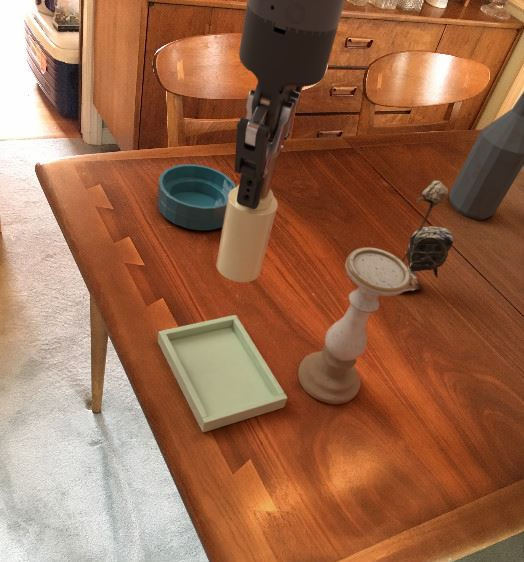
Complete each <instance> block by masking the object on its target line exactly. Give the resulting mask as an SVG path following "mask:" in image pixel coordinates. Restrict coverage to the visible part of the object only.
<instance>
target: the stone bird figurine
mask: <svg viewBox="0 0 524 562" xmlns="http://www.w3.org/2000/svg"><path fill="white" fill-rule="evenodd" d="M448 193H449V188H448V187H447V186H446V185H444V184H443V182H442V181H440V180H438V179H434V180H433V181H431V183H430V184H429V185H428V186H427V187H425V188H424V189H423V191H422V192H421V197H418V199H416V200H415V203H420V202H421V201H423V202H426V203H429V204H430V205H429V207H428V209H427V211H426V213H425V216H424V219H423V220H422V223H421V224H420V227H419V228H418V229H417V230H415V231H414V232H413V234H412V236H410V237H409V241H408V245H407V250H405V253H404V256H403V258H402V259H401V261H402V262H403V263H404V261H405V260H407V262H408V263H407V264H405V263H404V264H405V265H406V266H407V268H408V270H409V272H410V284H409V286H408V288H407V289H406V290H405V291H404V292H408V291H415V290H421V287H420V286H419V282H418V277H417V274H416V272H422V271H432V272H433V274H434V276H435V278H436V279H438V278H439V273H438V272H439V271H438V268H440V267H442V266H443V265H444V263H445V262H446V261H447V259H448V256H449V251H450V250H451V248H452V246H453V244H454V240H456V239H457V237H454V236H453V234H452V232H451V231H450V230H449V229H448V228H447V227H440V226H431V225H430V226H425V224H426V222H427V220H428V217H429V216H430V214H431V212H432V211H433V208H434V206H437V205H439V204H440V203H442V201H444V199H445V198H446V196H447V195H448Z"/></svg>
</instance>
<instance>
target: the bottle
mask: <svg viewBox="0 0 524 562" xmlns="http://www.w3.org/2000/svg"><path fill="white" fill-rule="evenodd" d="M523 167H524V91H522V93H521V95H520V96H519V98H518V99H517V101H516V102H515V103H514V105H513V107H512V108H511V109H510V110H508V111H507V112H505V113H503V114H502V115H500V116H499V117H498V118H496V119H495V120H494V121H492V122H490V123H489V124H487V125H486V126H484V127H483V128H482V129H481V130H480V132H479V134H478V135H477V137H476V139H475V142H474V144H473V146H472V147H471V149H470V151H469V153H468V156H467V157H466V160H465V161H464V163H463V165H462V167H461V169H460V171H459V174H458V175H457V177H456V179H455V181H454V183H453V184H452V186H451V189H450V190H449V192H448V193H449V195H448V196H449V204H450V206H451V207H452V208H453V209H454V210H455V211H457V213H459V214H461V215H462V216H463V217H468V218H470V219H474V220H477V221H485V220H486V219H488V218H490V217H491V216H493V215H495V214H496V212H497V211H498V209H499V207H500V205H501V204H502V202H503V201H504V199H505V197H506V196H507V193H508V192H509V190H510V189H511V187H512V185H513V183H514V182H515V180H516V179H517V177H518V175H519V174H520V172H521V170H522V168H523Z"/></svg>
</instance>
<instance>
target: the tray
mask: <svg viewBox="0 0 524 562" xmlns="http://www.w3.org/2000/svg"><path fill="white" fill-rule="evenodd" d="M157 343H158V345H159V347H160V350H161V351H162V354H163V355H164V357H165V359H166V362H167V364H168V365H169V367H170V370H171V372H172V374H173V375H174V378H175V380H176V382H177V384H178V386H179V387H180V390H181V392H182V394H183V396H184V398H185V400H186V402H187V404H188V406H189V408H190V410H191V413H192V414H193V416H194V419H195V420H196V422H197V424H198V427H199V428H200V430H201V432H202V433H206V432H209V431H213V430H216V429H218V428H222V427H225V426H228V425H232V424H235V423H238V422H241V421H244V420H247V419H251V418H255V417H257V416H260V415H264V414H267V413H270V412H275V411H276V410H277V411H278V410H280V409H283V408H284V407H285V406H286V403H287V400H288V396H287V394H286V393H285V391H284V389H283V388H282V386H281V385H280V384H279V383H280V382H279V381H278V380H277V378H276V377H275V375H274V374H273V372H272V370H271V369H270V367H269V365H268V364H267V362H266V361H265V359H264V357H263V356H262V354H261V352H260V351H259V349H258V348H257V346H256V345H255V343H254V340H252V338H251V336H250V335H249V333H248V332H247V330H246V329H245V326H244V325H243V324H242V322H241V321H240V318H239V317H238V316H237V314H233V315H227V316H223V317H219V318H214V319H209V320H204V321H200V322H196V323H191V324H187V325H181V326H178V327H173V328H167V329H163V330H159V331H158V335H157Z"/></svg>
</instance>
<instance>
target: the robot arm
mask: <svg viewBox="0 0 524 562" xmlns="http://www.w3.org/2000/svg"><path fill="white" fill-rule="evenodd" d="M345 2H346V0H247V1H246V7H245V13H244V18H243V19H244V20H243V25H242V32H241V37H240V43H239V50H238V57H239V61H240V63H241V64H242V65H243V67H244V68H245V69H246V70H247V71H248V72H251V73H252V75H254V76H255V78H256V80H257V84H256V86H255V89H253V88H251V89H250V91H249V93H248V96H247V101H246V104H245V110H246V116H245V117H243V116H241V117H240V119H239V120H238V121H237V124H236V142H235V157H234V173H236V174H239V175H240V179H239V184H238V185H239V189H238V194H237V203H238V204H240V205H242V206H245V207H248V208H251V209H256V208H257V207H258V205H259V203H260V199H261V195H262V190H263V186H264V181H265V177H266V175H267V174H268V171H269V169H268V167H269V163H270V160H271V156H272V154H274V153H276V152H277V151H278V157H277V161H276V166H275V170H274V174H273V178H272V182H271V185H272V183H273V180H274V177H275V173H276V168H277V164H278V160H279V155H280V154H281V152H282V151H283V150H284V147H285V145H284V143H285V141H287V139H288V138H289V137H290V134H291V130H292V128H293V123H294V119H295V114H296V112H297V109H298V107H299V105H300V102H301V98H302V91H303V88H304V87H311V86H314V85H317V84H319V83H320V82H321V81H322V80H323V79H324V77H325V76H326V71H327V69H328V65H329V62H330V58H331V54H332V51H333V46H334V43H335V40H336V36H337V31H338V29H339V24H340V21H341V17H342V13H343V10H344V6H345Z"/></svg>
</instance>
